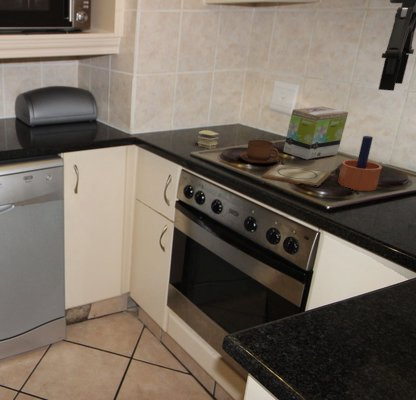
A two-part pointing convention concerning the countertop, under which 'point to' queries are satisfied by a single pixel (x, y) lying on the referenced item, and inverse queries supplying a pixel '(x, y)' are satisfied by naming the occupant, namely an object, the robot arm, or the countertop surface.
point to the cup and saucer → (260, 152)
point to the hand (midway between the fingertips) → (390, 86)
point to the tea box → (315, 132)
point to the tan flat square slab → (296, 175)
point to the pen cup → (359, 175)
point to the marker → (364, 152)
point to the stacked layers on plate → (207, 139)
